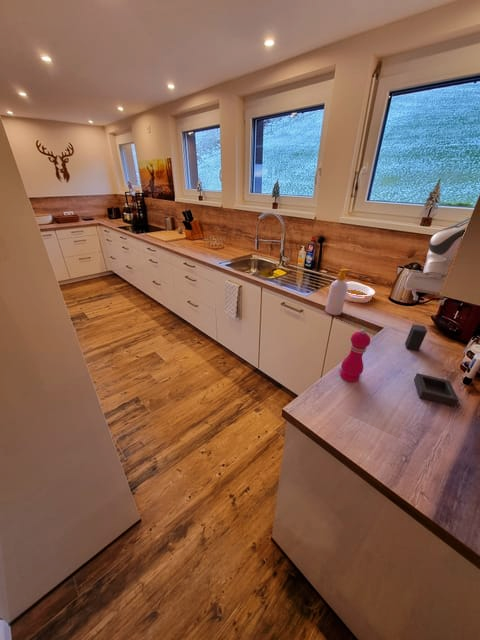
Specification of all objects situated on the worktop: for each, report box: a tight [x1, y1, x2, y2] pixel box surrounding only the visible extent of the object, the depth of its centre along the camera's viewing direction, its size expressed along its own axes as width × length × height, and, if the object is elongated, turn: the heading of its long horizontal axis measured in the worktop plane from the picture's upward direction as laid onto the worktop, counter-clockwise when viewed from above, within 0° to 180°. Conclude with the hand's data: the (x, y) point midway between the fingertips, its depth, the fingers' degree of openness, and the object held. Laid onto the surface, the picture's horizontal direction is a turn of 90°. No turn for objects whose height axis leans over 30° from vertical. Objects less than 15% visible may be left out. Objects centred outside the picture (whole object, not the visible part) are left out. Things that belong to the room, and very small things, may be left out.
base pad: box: [413, 372, 459, 408], centre depth 89 cm, size 10×10×3 cm
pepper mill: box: [340, 328, 371, 383], centre depth 91 cm, size 7×7×20 cm
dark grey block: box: [404, 323, 428, 352], centre depth 112 cm, size 5×5×10 cm
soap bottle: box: [324, 268, 354, 316], centre depth 137 cm, size 9×9×24 cm
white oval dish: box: [345, 280, 376, 303], centre depth 162 cm, size 29×22×5 cm
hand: (427, 302), depth 114 cm, fingers open, 8 cm apart
